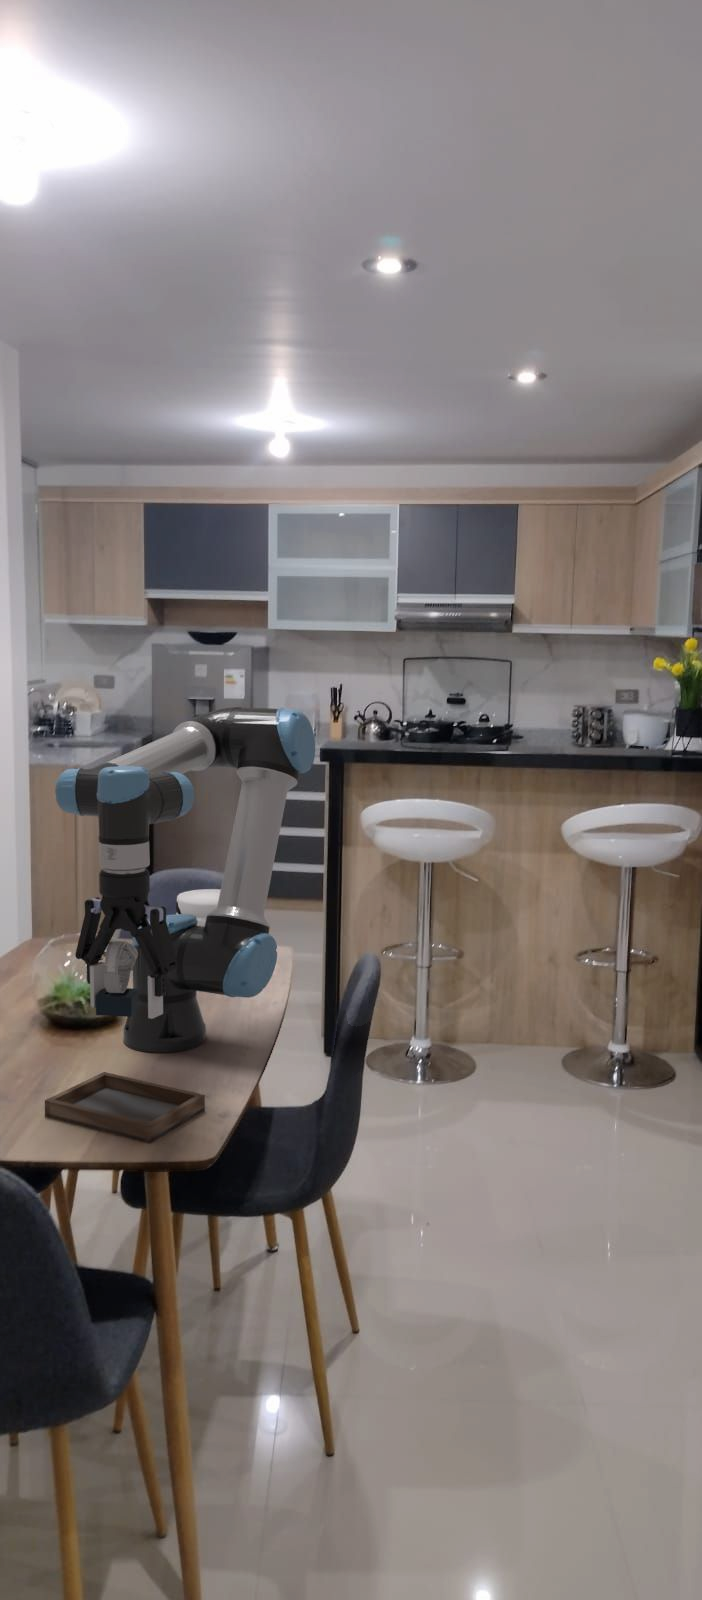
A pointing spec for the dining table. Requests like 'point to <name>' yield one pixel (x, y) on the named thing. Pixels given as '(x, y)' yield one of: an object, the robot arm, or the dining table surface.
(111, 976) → the watch
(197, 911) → the white pedestal bowl
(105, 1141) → the dining table surface
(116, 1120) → the valet tray
